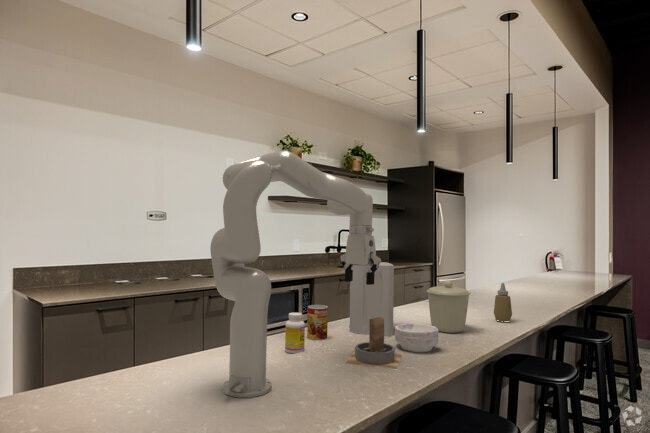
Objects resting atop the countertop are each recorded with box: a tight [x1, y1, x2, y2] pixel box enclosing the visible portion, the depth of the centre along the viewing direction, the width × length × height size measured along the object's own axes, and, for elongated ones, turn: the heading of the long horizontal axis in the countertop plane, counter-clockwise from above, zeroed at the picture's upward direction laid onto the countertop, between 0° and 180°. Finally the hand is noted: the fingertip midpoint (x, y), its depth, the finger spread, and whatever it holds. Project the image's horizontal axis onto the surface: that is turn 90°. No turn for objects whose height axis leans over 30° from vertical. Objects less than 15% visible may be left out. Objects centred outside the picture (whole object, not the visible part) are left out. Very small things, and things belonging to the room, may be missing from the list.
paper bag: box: [349, 261, 395, 337], centre depth 174 cm, size 19×15×28 cm
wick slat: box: [368, 317, 385, 352], centre depth 137 cm, size 2×4×12 cm, turn 134°
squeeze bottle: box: [493, 282, 513, 322], centre depth 198 cm, size 8×8×18 cm
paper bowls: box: [394, 323, 440, 353], centre depth 149 cm, size 15×15×8 cm
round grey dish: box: [354, 341, 396, 365], centre depth 136 cm, size 13×13×4 cm
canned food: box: [306, 304, 329, 341], centre depth 164 cm, size 8×8×12 cm
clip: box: [363, 347, 387, 353], centre depth 136 cm, size 5×6×3 cm
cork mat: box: [345, 350, 403, 370], centre depth 136 cm, size 16×16×1 cm
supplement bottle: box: [284, 312, 306, 354], centre depth 145 cm, size 7×7×13 cm
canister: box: [425, 280, 471, 334], centre depth 179 cm, size 18×18×21 cm
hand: (359, 282), depth 139 cm, fingers open, 9 cm apart
